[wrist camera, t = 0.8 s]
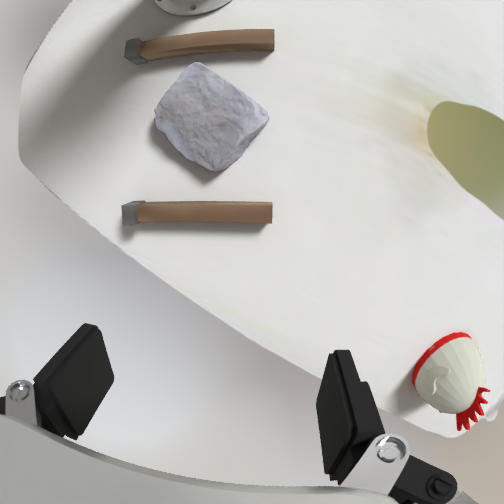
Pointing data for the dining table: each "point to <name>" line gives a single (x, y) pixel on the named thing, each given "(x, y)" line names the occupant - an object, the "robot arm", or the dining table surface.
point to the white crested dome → (452, 377)
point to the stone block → (208, 118)
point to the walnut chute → (187, 46)
